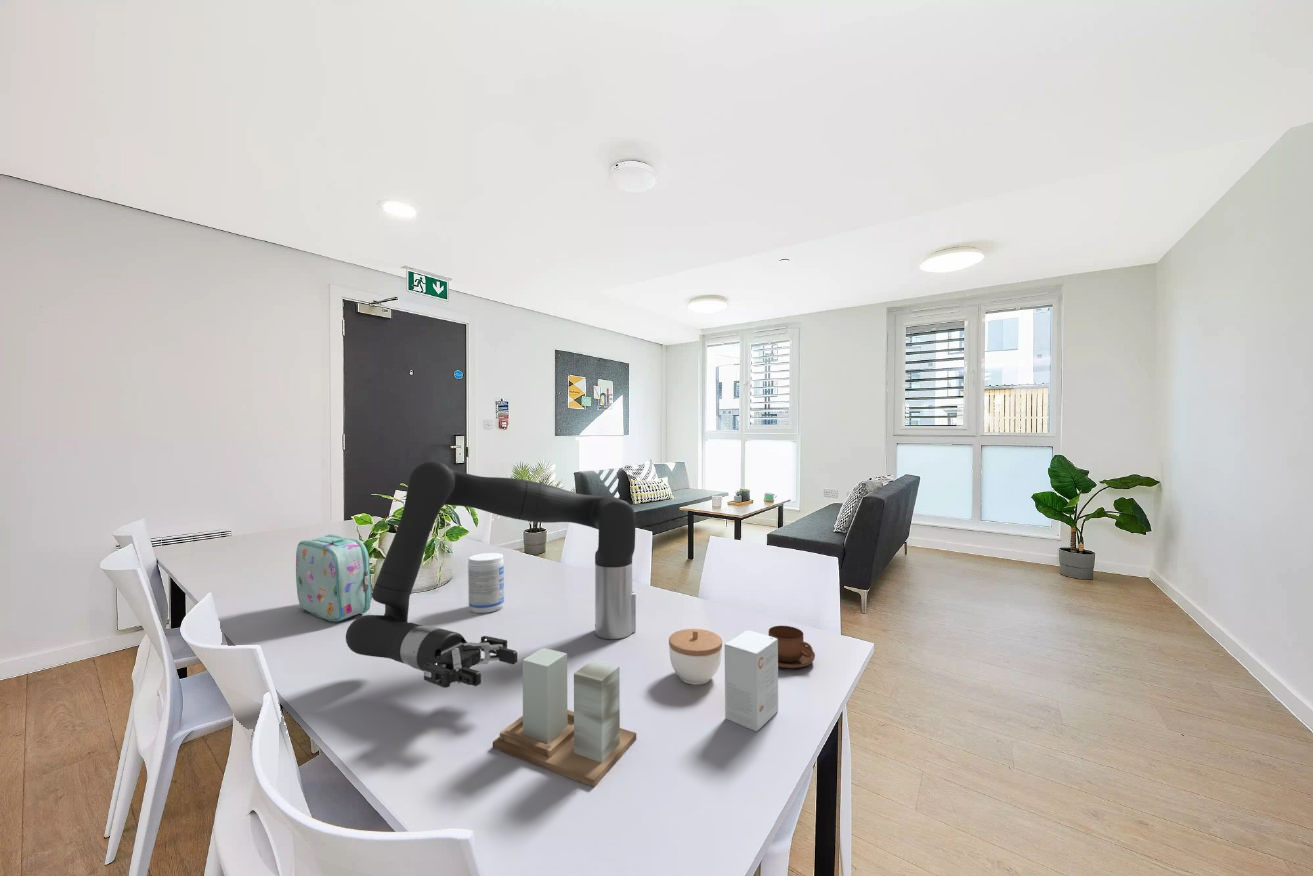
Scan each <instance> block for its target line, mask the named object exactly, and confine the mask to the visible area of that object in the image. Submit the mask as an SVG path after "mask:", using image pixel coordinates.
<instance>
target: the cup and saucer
mask: <svg viewBox="0 0 1313 876" xmlns="http://www.w3.org/2000/svg"><path fill="white" fill-rule="evenodd" d="M768 636H771V637H774V638H777V639H778V668H783V669H784V668H785V669H799V668H804V667H806V666H809V665H810V664H812V663H813V662H814V660H815V659H816V658H815V657H816V654H815V652H814V649H813V647H812V645H811V644H810V643H808V642H807V641H804V632H803V631H802V630H801V629H799V628H798V627H794V626H789V625H775V626H772V627H769V629H768Z"/></svg>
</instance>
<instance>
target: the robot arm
mask: <svg viewBox="0 0 1313 876" xmlns="http://www.w3.org/2000/svg"><path fill="white" fill-rule="evenodd" d="M443 506H456V507H460V506H461V507H466V508H473V509H477V510H481V511H484V512H487V513H491V514H494V515H497V516H502V517H506V518H509V519H513V520H518V521H526V522H531V523H541V524H543V523H544V524H546V523H548V524H549V523H552V524H553V523H571V524H572V523H573V524H577V525H582V526H585V527H589V528H592V529H596V530H598V543H597V546H598V547H597V550H596V551H595V553H594V602H595V603H594V609H595V610H594V611H595V612H594V622H595V623H594V633H595V635H596V636H597V637H599V638H601V639H605V640H619V639H623V638H627V637H629V636H631V635H632V634H633V633H636V631H637V618H636V617H637V612H636V611H637V610H636V609H637V604H636V603H637V601H636V600H637V599H636V598H637V594H636V592H634V591H633V556H634V553H635V549H636V515H635V514H636V513H635V511H634V509H633V507H632V505H631V504H630V503H629V502H627V501H625V500H623V499H621V498H618V497H615V496H608V495H607V496H603V495H592V494H590V495H589V494H584V493H583V494H582V493H577V492H572V491H570V490H567V489H564V488H560V487H557V486H554V485H549V484H545V483H542V482H537V481H532V480H526V479H520V478H513V477H512V478H511V477H500V476H499V477H498V476H497V477H496V476H495V477H494V476H493V477H492V476H480V475H479V476H478V475H474V474H470V473H466V472H463V471H460V470H455V469H452V468H450V467H449V466H448V465H447V464H445V463H443V462H440V461H437V460H436V461H435V460H430V461H429V460H428V461H424V462H422V463H419V464H418V465H416V467H414V468H412V471H411V472H410V473H409V475H408V479H407V489H406V496H405V501H404V506H403V510H402V513H401V517H400V520H399V523H398V526H397V528H396V532H395V534H394V537H393V539H392V541H391V544H390V546H389V549H388V550H387V553H386V555H385V557H384V560H383V563H382V565H381V567H380V571H379V574H378V576H377V578H376V581H375V584H374V585H373V589H372V600H373V601H375V602H377V603H379V604H382V605H384V607H385V609H384V614H383V615H382V614H381V615H380V614H366V615H361V616H359V617H357V618H355V619H354V620H353V621H352V622H351V623H350V624H349V626H348V627H347V629H346V632H345V642H346V645H347V647H348V648H349V650H351V652H353V653H355V654H357V655H360V656H361V655H362V656H367V657H375V658H385V659H390V660H393V661H396V662H399V663H402V664H405V665H408V666H409V667H411V668H413V669H415V670H418V671H422V672H423V680H424V681H426V682H428V683H430V684H434V685H436V686H438V687H441V688H444V689H445V688H449V687H451V683H454V684H456V685H459V684H460V683H461V684H462V683H463V684H466V685H469V686H474V687H477V686H480V685H481V683H482V673H481V672H480V671H479V670H476V669H473V668H472V667H474V666H478V665H487V664H489V663H490V662H493V661H499V662H502V663H506V664H510V665H515V664H517V663H518V651H516V650H513V649H510V648H508V639H503V638H497V637H492V636H487V635H482V636H480V641H479V642H473V641H471V642H470V641H469V642H468V641H467V640H466V639H465V637H464V636H463V635H462V634H461V633H459V632H456V631H453V630H448V629H444V628H441V627H436V626H431V625H422V624H419V623H414V622H409V621H408V619H409V608H410V599H411V597H410V596H411V594H412V592H413V590H414V589H413V588H414V586H415V583H416V580H417V577H418V575H419V571H420V569H421V565H422V561H423V558H424V555H425V551H426V548H427V543H428V540H429V536H430V534H431V532H432V528H433V527H434V524H435V522H436V519H437V517H438V515H439V513H440V512H441V510H442V508H443ZM482 652H483V653H484V657H483V658H482V656H481V655H482V654H481V653H482ZM491 654H493V655H491Z"/></svg>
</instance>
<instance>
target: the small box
mask: <svg viewBox="0 0 1313 876" xmlns="http://www.w3.org/2000/svg"><path fill="white" fill-rule="evenodd" d="M724 712H725V715H724V716H725V719H726V720H729V721H731V722H733V723H735V724H737V725H740V726H742V727H744V728H747V729H749V730H751V731H754V732H758V731H759V730H760V729H761V728H762V727H763V726H764V725H765V724H766V723H767V722H769V720H770V719H772V717H774V716H775V715H776V714H777V713H778V712H779V666H778V639H777V638H774V637H771V636H769V634H768V635H767V634H763V633H761V632H756V631H753V630H749V629H747V630H745V631H743V632H741V633H740V634H738V635H737V636H735V637H734V638H732V639H730V640H729V641H727V642H726V643H724Z"/></svg>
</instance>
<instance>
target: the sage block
mask: <svg viewBox="0 0 1313 876" xmlns="http://www.w3.org/2000/svg"><path fill="white" fill-rule="evenodd" d="M567 710H568V653H566V652H563V651H559V650H555V649H554V650H553V649H549V648H547V647H546V648H545V647H542V648H540V649H539V650H537V651H535V652H533V653H532V654H530V655H528V656H527V657H525V658H524V659H522V716H523V735H525V736H528V737H530V738H533V739H536V740H539V741H542V742H545V743H547V744H548V743H549V742H550V741H551V740H553V739H554V738H555V737H556V736H557V735H558V734H559V733H561V732H562V731H563V730H564V729H565V728H566V727H568V718H567Z"/></svg>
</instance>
